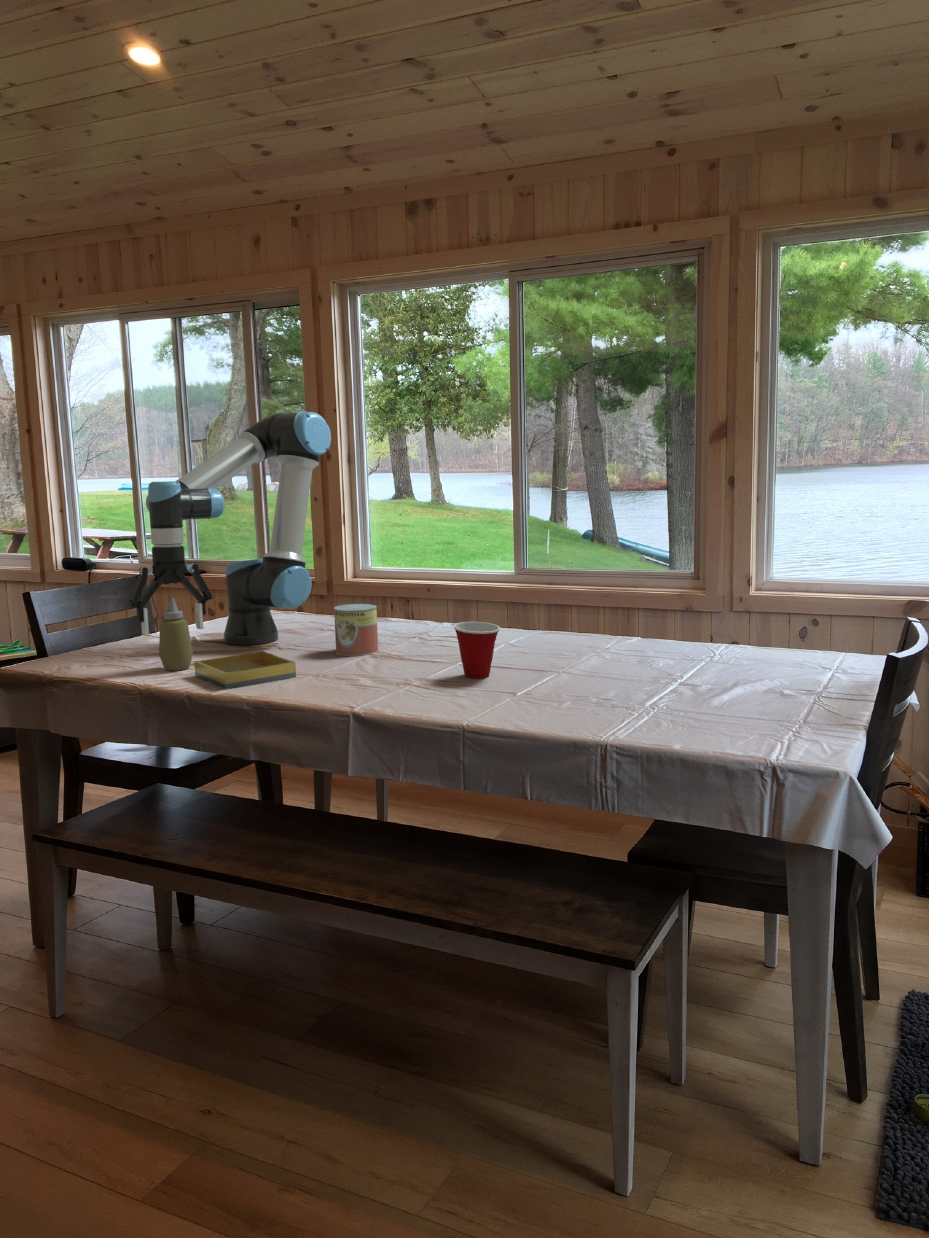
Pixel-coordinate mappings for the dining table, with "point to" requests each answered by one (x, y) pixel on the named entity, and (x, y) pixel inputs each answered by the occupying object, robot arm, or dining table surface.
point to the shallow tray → (244, 669)
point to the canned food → (356, 629)
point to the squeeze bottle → (174, 639)
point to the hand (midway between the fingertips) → (173, 631)
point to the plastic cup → (476, 647)
